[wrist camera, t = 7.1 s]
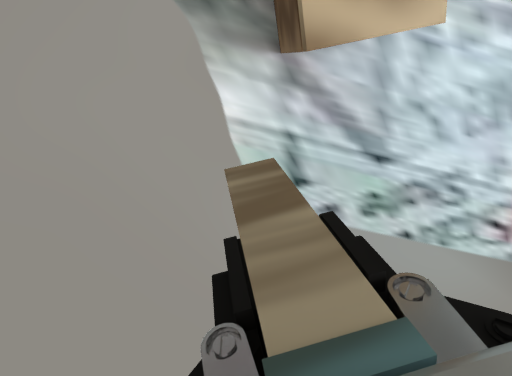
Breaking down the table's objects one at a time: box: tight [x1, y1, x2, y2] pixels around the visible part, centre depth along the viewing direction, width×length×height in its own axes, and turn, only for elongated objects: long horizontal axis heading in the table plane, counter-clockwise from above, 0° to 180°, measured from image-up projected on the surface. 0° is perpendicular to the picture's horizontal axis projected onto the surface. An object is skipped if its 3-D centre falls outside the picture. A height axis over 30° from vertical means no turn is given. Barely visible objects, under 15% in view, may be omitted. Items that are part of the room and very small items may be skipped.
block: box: [224, 158, 437, 376], centre depth 13 cm, size 4×4×14 cm
